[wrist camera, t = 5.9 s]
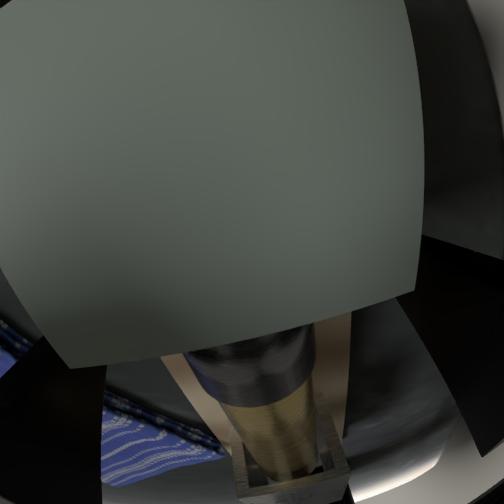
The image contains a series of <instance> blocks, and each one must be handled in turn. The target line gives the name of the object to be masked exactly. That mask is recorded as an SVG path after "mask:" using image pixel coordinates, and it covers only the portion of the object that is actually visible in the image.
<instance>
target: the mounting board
mask: <svg viewBox="0 0 504 504" xmlns="http://www.w3.org/2000/svg"><path fill="white" fill-rule="evenodd" d="M314 326H315V337H316V349H317V354H316V361H315V365H314V368H313V370H312V380H313V390H314V395H315V394H318V393H321V392H323V393H324V396H325V399H326V402H327V405H328V408H329V410H330V413H331V416H332V419H333V422H334V425H335V428H336V430H337V433H338V436H339V439H340V442H341V445H342V437H343V429H344V420H345V410H346V400H347V388H348V375H349V359H350V337H351V312H348V313H344V314H341V315H338V316H334V317H331V318H328V319H324V320H321V321H317V322H314ZM160 358H161V359H162V361H163V362H164V364H165V365H166V367H167V369H168V370H169V372H170V373H171V375H172V376H173V378H174V379H175V381H176V382H177V384H178V385H179V387H180V388H181V389H182V391H183V392H184V394H185V395H186V397H187V398H188V400H189V401H190V402H191V404H192V405H193V407H194V408H195V409H196V411H197V412H198V413H199V415H200V416H201V417H202V419H203V420H204V421H205V423H206V424H207V425H208V427H209V428H210V429H211V431H212V432H213V433H214V435H215V436H216V437H217V438H218V440H219V441H220V442H221V443H222V445H223V446H224V447H225V448H226V450H227V451H228V452H229V453H230V454H231V456H232V453H231V444H230V435H229V426H228V418H227V416H226V414H225V413H224V411H223V409H222V408H221V406H220V404H219V403H218V401H217V400H215V399H214V398H212V397H211V396H210V395H208V394H207V393H206V392H205V391H204V389H203V388H202V387H201V385H200V384H199V382H198V380H197V379H196V377H195V375H194V373H193V372H192V370H191V368H190V367H189V365H188V363H187V361H186V360H185V358H184V356H183V354H182V353H179V354H174V355H168V356H162V357H160ZM318 453H319V452H318Z"/></svg>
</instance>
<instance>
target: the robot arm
mask: <svg viewBox="0 0 504 504" xmlns="http://www.w3.org/2000/svg"><path fill="white" fill-rule="evenodd" d="M395 298H396V299H397V301H398V302H399V304H400V305H401V307H402V309H403V310H404V312H405V313H406V315H407V317H408V318H409V320H410V321H411V323H412V325H413V326H414V328H415V330H416V331H417V333H418V335H419V336H420V338H421V340H422V341H423V343H424V345H425V346H426V348H427V350H428V352H429V353H430V355H431V357H432V359H433V360H434V362H435V364H436V366H437V368H438V369H439V371H440V373H441V375H442V377H443V378H444V380H445V382H446V384H447V386H448V388H449V390H450V392H451V394H452V396H453V398H454V399H455V400H456V401H455V402H456V404H457V406H458V408H459V410H460V412H461V414H462V416H463V418H464V420H465V422H466V424H467V426H468V428H469V431H470V433H471V435H472V437H473V440H474V442H475V444H476V446H477V449H478V451H479V453H480V455H481V457H484V456H485V455H487V454H488V453H489V452H491V451H492V450H494V449H495V448H496V447H498V446H499V445H500V444H502V443H503V442H504V260H501V259H498V258H495V257H492V256H488V255H485V254H482V253H479V252H476V253H475V251H473V250H470V249H467V248H464V247H461V246H457V245H454V244H451V243H448V242H445V241H441V240H438V239H435V238H431V237H428V236H425V235H421V243H420V253H419V261H418V269H417V276H416V283H415V290H414V291H411V292H408V293H405V294H402V295H400V296H397V297H395ZM106 371H107V365H100V366H92V367H83V368H73V369H70V368H69V367H68V366H67V364H66V363H65V362H64V361H63V360H62V358H61V357H60V356H59V355H58V353H57V352H56V351H55V350H54V348H53V347H52V346H51V344H50V343H49V342H48V340H47V339H46V338H45V336H44V335H43V336H42V337H41V338H40V339H39V340H38V341H37V342H36V343H35V344H34V345H33V346H32V347H31V348H30V349H29V350H28V351H27V352H26V353H25V354H24V355H23V356H22V357H21V358H20V359H19V361H17V362H16V363H15V364H14V365H13V366H12V367H11V368H10V369H9V370H8V371H7V372H6V373H5V374H4V375H3V376H2V377H1V378H0V504H102V483H101V440H102V418H103V403H104V391H105V380H106ZM347 463H348V466H350V464H349V461H347ZM322 472H324V469H319V470H316V471H312V472H311V473H310V474H309V475H308V476H311V475H315V474H318V473H322ZM329 504H355V503H354V500H353V497H352V494H351V490H350V487H349V484H347V487H346V489H345V492H344V495H343V498H342V500H339V501H336V502H332V503H329ZM468 504H504V478H503V479H502V480H501V481H499V482H498V483H497V484H496V485H494V486H493V487H491V488H490V489H489V490H487V491H486V492H484V493H483V494H481V495H480V496H479V497H477V498H476V499H474V500H473V501H471V502H470V503H468Z"/></svg>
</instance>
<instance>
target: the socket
mask: <svg viewBox="0 0 504 504" xmlns="http://www.w3.org/2000/svg"><path fill="white" fill-rule="evenodd" d="M423 201H424V134H423V117H422V104H421V94H420V85H419V77H418V69H417V62H416V56H415V50H414V44H413V39H412V34H411V29H410V24H409V20H408V16H407V11H406V7H405V3H404V0H12V1H10V2H9V3H7V4H6V5H5V6H3V7H2V8H1V9H0V268H1V269H2V271H3V273H4V275H5V277H6V278H7V280H8V282H9V283H10V285H11V287H12V289H13V290H14V292H15V293H16V295H17V297H18V298H19V300H20V301H21V303H22V305H23V306H24V308H25V309H26V311H27V312H28V314H29V315H30V317H31V318H32V320H33V321H34V322H35V324H36V325H37V327H38V328H39V330H40V331H41V332H42V334H43V335H44V336H45V338H46V339H47V340H48V342H49V343H50V344H51V346H52V347H53V348H54V350H55V351H56V352H57V353H58V355H59V356H60V357H61V358H62V360H63V361H64V362H65V363H66V364H67V366H68V367H69V368H70V369H73V368H83V367H92V366H100V365H108V364H116V363H123V362H130V361H137V360H144V359H150V358H156V357H162V356H168V355H174V354H179V353H185V352H190V351H195V350H200V349H205V348H210V347H215V346H220V345H224V344H229V343H234V342H238V341H243V340H247V339H251V338H255V337H260V336H264V335H268V334H272V333H276V332H280V331H284V330H288V329H291V328H295V327H299V326H303V325H306V324H310V323H313V322H317V321H321V320H324V319H328V318H331V317H334V316H338V315H341V314H344V313H348V312H351V311H354V310H357V309H360V308H364V307H367V306H370V305H373V304H376V303H379V302H382V301H385V300H388V299H391V298H394V297H397V296H400V295H402V294H405V293H408V292H411V291H414V290H415V283H416V276H417V269H418V261H419V253H420V243H421V232H422V219H423Z"/></svg>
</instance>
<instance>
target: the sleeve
mask: <svg viewBox="0 0 504 504" xmlns="http://www.w3.org/2000/svg"><path fill="white" fill-rule="evenodd" d="M314 402H315V414H316V426H317V440H318V452H319V455H320V459H321V462H322V466H323V469H324V472H322V473H318V474H315V475H311V476H307V477H303V478H299V479H295V480H290V481H286V482H281V483H276V484H271V485H269V484H268V479H267V476H266V475H265V474H264V472H263V471H262V470H261V468H260V467H259V465H258V464H257V462H256V461H255V459H254V458H253V456H252V455H251V453H250V452H249V450H248V449H247V447H246V446H245V444H244V443H243V441H242V440H241V438H240V437H239V435H238V434H237V432H236V430H235V429H234V427H233V426H232V424H231V422H230V421H229V419H228V426H229V435H230V444H231V453H232V461H233V469H234V477H235V484H236V492H237V499H238V500H240V501H241V502H243V503H244V504H329V503H332V502H336V501H339V500H342V498H343V495H344V492H345V489H346V487H347V484H348V481H349V478H350V475H351V472H350V469H349V466H348V463H347V460H346V457H345V454H344V451H343V448H342V445H341V442H340V439H339V436H338V433H337V430H336V428H335V425H334V422H333V419H332V416H331V413H330V410H329V408H328V405H327V402H326V399H325V396H324V393H323V392H321V393H318V394H315V395H314Z"/></svg>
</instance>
